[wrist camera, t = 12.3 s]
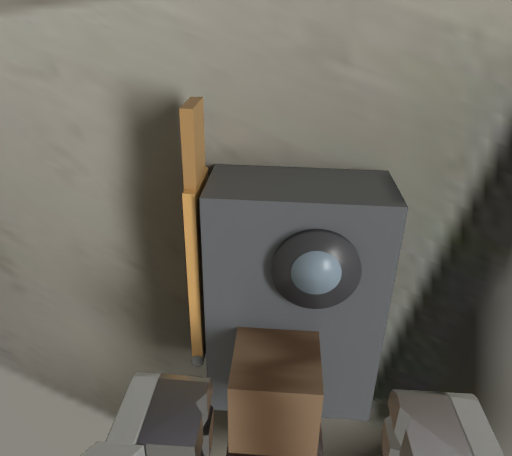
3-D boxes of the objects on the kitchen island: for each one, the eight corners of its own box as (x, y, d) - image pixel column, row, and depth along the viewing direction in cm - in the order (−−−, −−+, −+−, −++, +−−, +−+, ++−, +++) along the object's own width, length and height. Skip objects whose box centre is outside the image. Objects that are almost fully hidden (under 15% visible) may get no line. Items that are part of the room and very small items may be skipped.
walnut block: (318, 331, 28) (323, 395, 23) (312, 390, 30) (316, 459, 26) (237, 326, 28) (227, 388, 24) (237, 385, 30) (228, 452, 26)
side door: (214, 321, 35) (203, 367, 30) (203, 320, 35) (191, 366, 30) (207, 93, 27) (190, 112, 23) (193, 93, 27) (174, 111, 23)
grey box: (358, 362, 36) (369, 428, 31) (219, 354, 37) (207, 416, 31) (388, 171, 29) (410, 212, 23) (214, 164, 29) (197, 202, 24)
